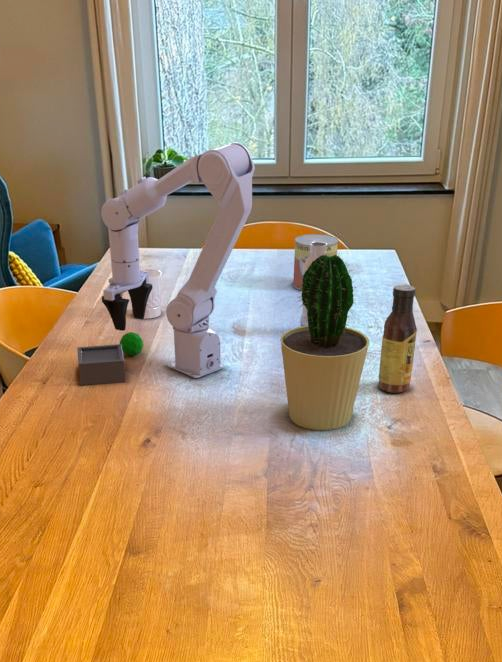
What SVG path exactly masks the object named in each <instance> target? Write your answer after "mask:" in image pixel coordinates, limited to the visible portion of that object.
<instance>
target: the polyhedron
mask: <svg viewBox="0 0 502 662" xmlns="http://www.w3.org/2000/svg"><path fill="white" fill-rule="evenodd" d="M119 340H120V341H119V344H121V347H122V352H123V355H127V356H130V357H135V356H137V355H139V354H140V353H141V352H142V350H143V349H144V340H143V339H142V337H141V336H140V335H139V333H136V332H132V331H130V332H127V333H125V334H123V335H122V336H121V338H120V339H119Z"/></svg>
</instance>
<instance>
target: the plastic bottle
mask: <svg viewBox="0 0 502 662" xmlns="http://www.w3.org/2000/svg"><path fill="white" fill-rule="evenodd" d="M309 252H310V253H311V255H310V256H309V258H308V259H307V260H306V262H305V264H304V266H303V269H304V270H305V269H306V270H307V269H308V267H309V266H310V264H311V263H312V260H313V261H315V260H316V259H317V258H319V256H320V255H321V256H322V255H325V254H326V253H327V244H326V243H324V242H313V243H311V244H310V251H309ZM314 257H315V259H314ZM309 262H310V263H309ZM308 265H309V266H308ZM307 266H308V267H307ZM304 270H303V273H305V271H306V270H305V271H304ZM303 275H304V274H303ZM304 310H305V311H304ZM306 310H307V309H306V307H305V305H303V306H302V310H301V311H302V312H301V314H300V319H299V324H300V327H302V326H308V320H307V319H308V316H307V311H306ZM305 312H306V313H305ZM304 314H305V315H304ZM304 317H306V318H304ZM303 322H304V323H303Z"/></svg>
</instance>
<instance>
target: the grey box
mask: <svg viewBox="0 0 502 662" xmlns="http://www.w3.org/2000/svg"><path fill="white" fill-rule="evenodd" d="M76 349H77V362H78V363H77V364H78V365H77V366H78V374H79V375H78V376H79V383H80V386H89V385H103V384H115V383H126V382H127V379H126V370H125V369H126V367H125V358H124V352H123V351H122V347H121V344H120V343H119V344H106V345H105V344H104V345H91V346H78V347H77V348H76Z"/></svg>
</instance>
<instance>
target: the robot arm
mask: <svg viewBox="0 0 502 662" xmlns="http://www.w3.org/2000/svg"><path fill="white" fill-rule="evenodd" d="M255 170H256V166H255V163H254V161H253V159H252V156H251V154H250V151H249V149H248V148H247V147H246V146H245V145H243V144H242V143H240V142H230V143H227V144H226V145H224V146H221V147H218V148H215V149H214V148H211V149H208V150H206V151H204V152H202V153H199V154H197V155H194V156H192V157H189V158H188V159H187V160H185V161H184V162H182V163H181V164H179V165H178V166H176V167H175V168H173V169H172V170H170V171H169V172H167V173H166V174H164V175H163V176H162V177H160V178H159V179H158V178H156V177H151V176H149V177H146V176H142V177H140V178H139V179H137V180H136V183H137V184H135V185H134V186H132V187H131V188H129V189H127V188H125V189H123V190H121V191H120V192H119V194H120V195H119V196H117V197H114V198H108V199H107V200H106V201H105V202H104V203H103V205H102V206H101V210H100V214H101V215H100V216H101V220H102V223H104V225H105V226H106V227H107V228H108V239H109V240H108V241H109V242H108V243H109V253H110V265H111V277H110V278H108V283H109V284H108V286H107V287H105V289H103V291H102V292H103V295H102V296H101V302H102V304H103V305H104V306H105V308H106V309H107V311H108V313H109V316H110V318H111V320H112V324H113V326H114V330H116V331H123V332H124V331H125V330H126V327H127V312H128V311H127V310H128V305H129V303H130V304H131V308H132V316H133V318H134V319H138V320H145V319H144V315H145V310H146V305H147V301H148V297H149V295H150V292H151V290H152V284H148V283H146V282H148V281H149V272H145V271H140V269H141V265H140V250H139V248H140V247H139V235H138V234H139V233H138V231H139V223H140V222H141V221H142V219H144V218H146V217H147V216H150V214H152V213H154V212H156V211H157V210H159V209H161V208H163V207H164V206H165V205H166V203H167V197H168V195H170V194H172V193H174V192H176V191H178V190H179V189H182V188H183V187H185V186H187V185H189V184H191V183H192V182H195V183H197V184H203V185H204V186H205V188H207V190H208V192H209V193H210V194H211V196H212V197H213V198H214V200H215V201H216V202H217V204H218V207H219V211H218V212H217V215H216V217H215V220H214V222H213V224H212V226H211V228H210V230H209V233H208V235H207V237H206V239H205V242H204V244H203V246H202V249H201V251H200V253H199V255H198V257H197V260H196V262H195V264H194V266H193V268H192V271H191V273H190V276H189V277H188V280H187V281H186V282H185V283H184V285H183V286H182V287H181V288H180V290H179V291H178V292H177V295H176V296H175V298H174V299H172V300H171V301H170V302H169V303H167V306H166V309H165V310H166V311H165V315H166V319H167V321H168V323H169V324H170V325H171V327H172V330H173V342H174V343H173V344H174V345H173V346H174V360H173V361H170V362H168V363H166V367H168V368H169V369H173V370H174V371H177V372H180V373H181V374H184V375H186V376H188V377H191V378H194V379H199V378H201V377H205V376H208V375H209V374H212V373H215V372H217V371H220V370H222V369H224V365H222V364H221V363H222V362H221V340H220V337H219V335H218V334H217V333H216V332H214V331H213V330H212V329H211V327H210V316H211V315H212V313H213V312H214V309H215V299H216V295H217V293H218V290H217V288H216V285H217V283H218V281H219V279H220V277H221V275H222V273H223V270H224V268H225V266H226V264H227V262H228V260H229V258H230V256H231V253H232V252H233V250H234V247H235V245H236V243H237V241H238V238H239V237H240V234H241V232H242V230H243V228H244V226H245V224H246V222H247V220H248V218H249V215H250V214H251V211H252V208H253V177H254V173H255ZM126 292H128V295H129V298H123V296H122V294H124V293H126Z"/></svg>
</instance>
